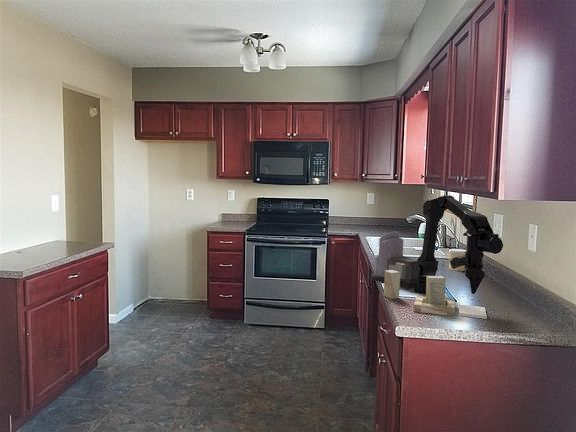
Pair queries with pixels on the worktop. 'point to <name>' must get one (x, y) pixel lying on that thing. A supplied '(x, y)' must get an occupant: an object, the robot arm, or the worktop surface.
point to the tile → (472, 311)
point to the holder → (434, 307)
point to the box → (391, 284)
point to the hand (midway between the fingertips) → (472, 292)
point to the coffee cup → (454, 254)
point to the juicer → (394, 260)
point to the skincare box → (435, 290)
